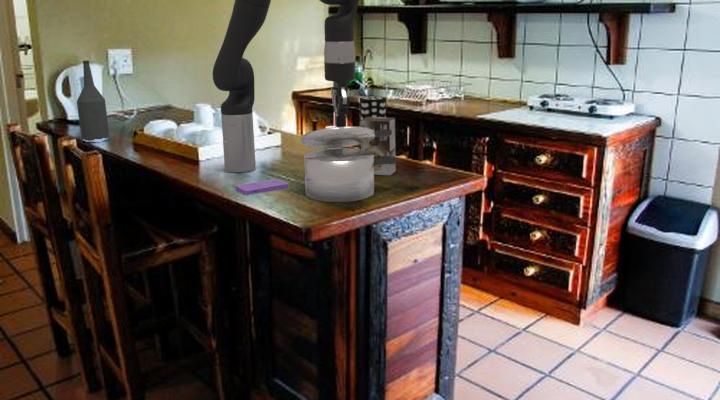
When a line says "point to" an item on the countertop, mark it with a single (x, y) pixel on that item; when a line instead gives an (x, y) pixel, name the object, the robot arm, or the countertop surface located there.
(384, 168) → the coffee box
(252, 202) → the countertop surface
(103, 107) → the bottle
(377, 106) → the white-spotted black cylinder
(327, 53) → the robot arm
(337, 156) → the pot
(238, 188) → the sponges
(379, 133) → the lid
